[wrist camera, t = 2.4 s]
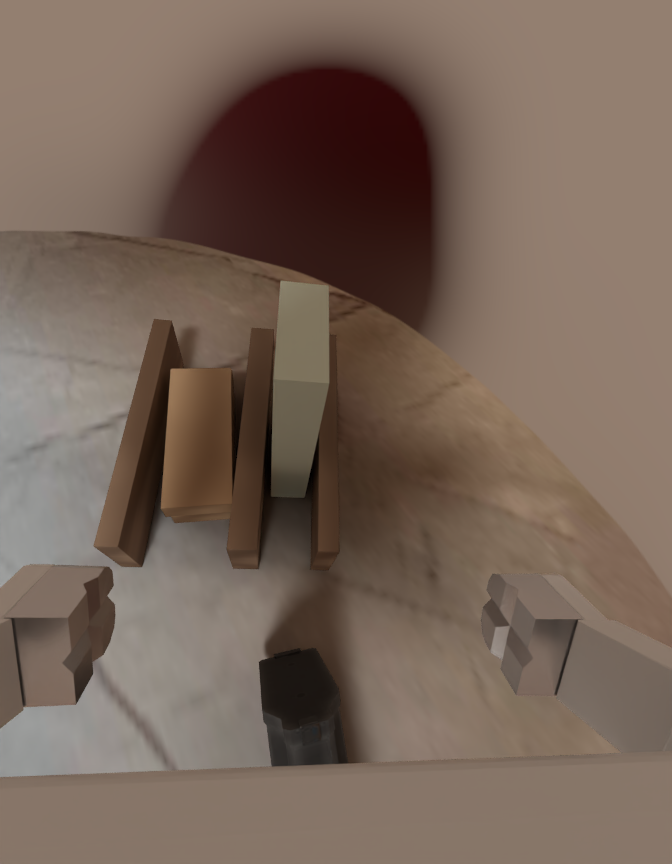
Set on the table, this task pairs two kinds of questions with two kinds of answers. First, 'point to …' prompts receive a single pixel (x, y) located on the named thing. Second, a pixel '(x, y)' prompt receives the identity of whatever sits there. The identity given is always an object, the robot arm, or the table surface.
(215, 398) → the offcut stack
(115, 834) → the robot arm
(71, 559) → the table surface
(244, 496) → the walnut rack
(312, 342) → the tall panel
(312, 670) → the magazine
